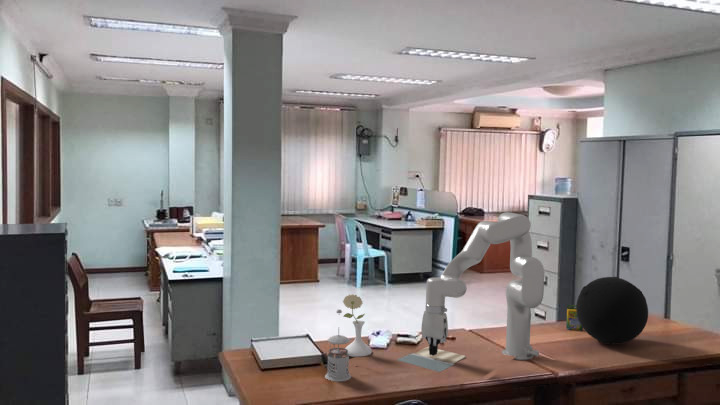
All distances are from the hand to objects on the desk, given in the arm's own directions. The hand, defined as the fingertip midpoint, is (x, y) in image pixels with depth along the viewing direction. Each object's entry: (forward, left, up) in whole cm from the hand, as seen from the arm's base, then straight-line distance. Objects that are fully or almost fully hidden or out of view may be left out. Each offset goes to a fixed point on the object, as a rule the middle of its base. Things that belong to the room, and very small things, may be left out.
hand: (433, 354), depth 230 cm
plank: (0, -5, -2) cm, 5 cm away
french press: (+18, +38, -3) cm, 42 cm away
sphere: (-46, -75, -3) cm, 88 cm away
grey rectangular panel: (0, +6, -3) cm, 7 cm away
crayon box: (-26, -87, -3) cm, 91 cm away
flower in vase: (+28, +15, -3) cm, 32 cm away
